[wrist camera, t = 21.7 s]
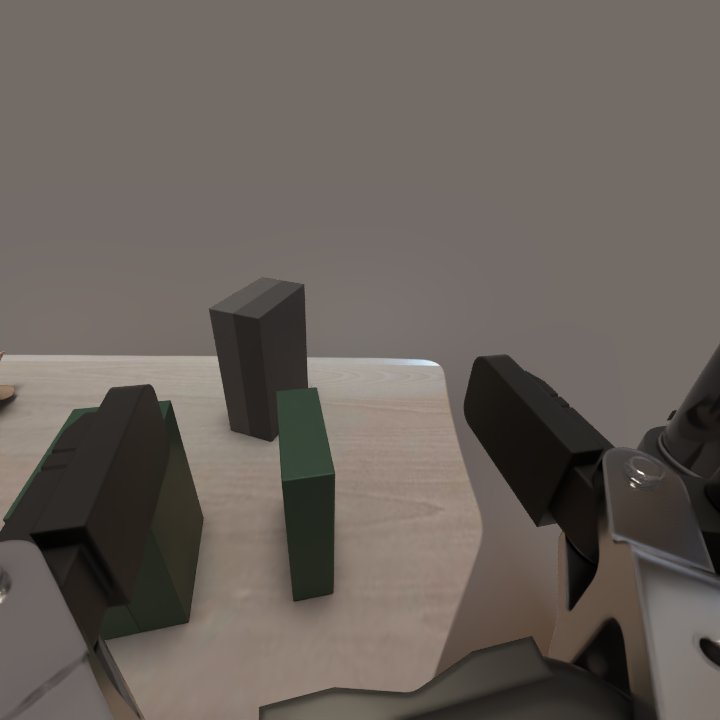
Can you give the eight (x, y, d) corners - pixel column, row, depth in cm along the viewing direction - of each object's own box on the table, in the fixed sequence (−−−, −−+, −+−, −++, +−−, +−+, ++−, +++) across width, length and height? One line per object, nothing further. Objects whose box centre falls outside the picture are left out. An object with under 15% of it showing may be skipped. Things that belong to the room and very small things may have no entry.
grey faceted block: (308, 393, 52) (304, 284, 44) (271, 441, 44) (258, 318, 36) (272, 385, 54) (262, 276, 45) (230, 430, 46) (208, 308, 37)
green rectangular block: (203, 517, 35) (170, 399, 28) (188, 622, 28) (138, 500, 21) (128, 529, 34) (73, 409, 27) (92, 642, 27) (2, 519, 19)
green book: (319, 500, 38) (316, 387, 30) (333, 593, 30) (335, 473, 23) (286, 505, 37) (276, 390, 30) (293, 601, 30) (281, 481, 22)
